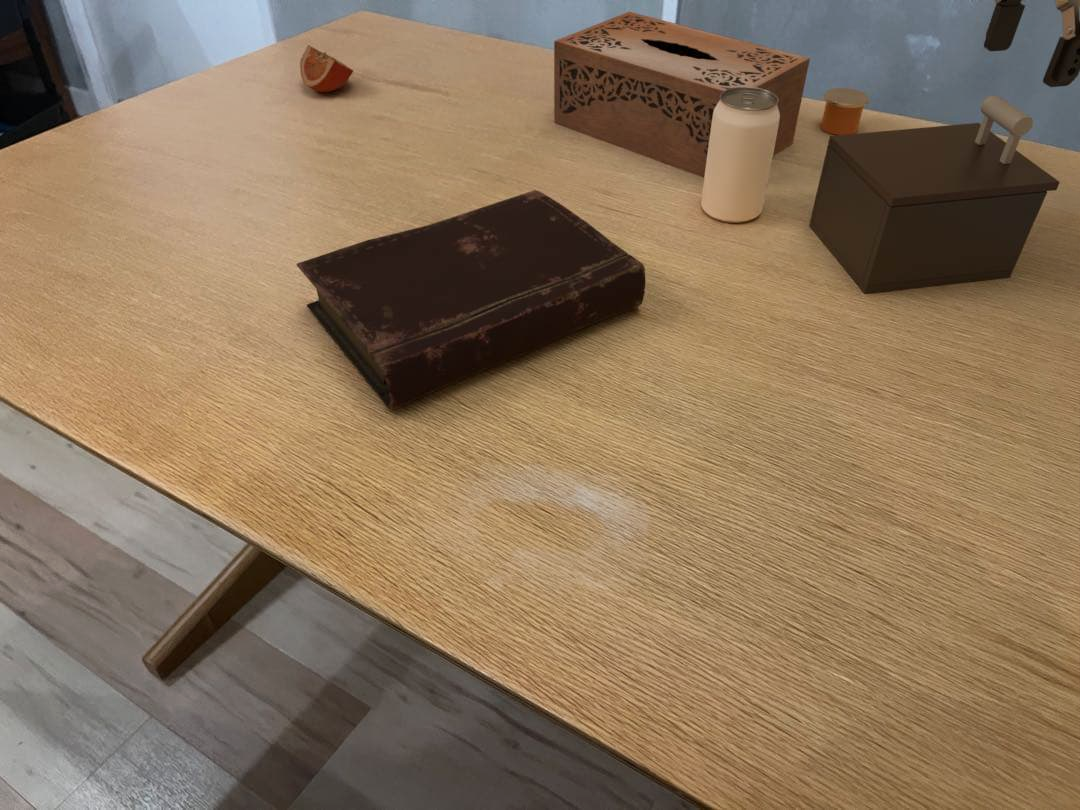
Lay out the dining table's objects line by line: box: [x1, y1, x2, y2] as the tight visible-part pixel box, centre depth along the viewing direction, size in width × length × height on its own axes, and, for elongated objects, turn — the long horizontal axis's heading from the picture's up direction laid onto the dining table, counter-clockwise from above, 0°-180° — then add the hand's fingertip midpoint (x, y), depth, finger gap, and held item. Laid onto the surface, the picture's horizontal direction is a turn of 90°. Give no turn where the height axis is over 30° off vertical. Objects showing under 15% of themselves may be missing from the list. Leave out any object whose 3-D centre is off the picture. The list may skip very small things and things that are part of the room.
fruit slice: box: [299, 44, 354, 93], centre depth 112 cm, size 8×7×5 cm
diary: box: [296, 189, 646, 411], centre depth 73 cm, size 19×25×5 cm
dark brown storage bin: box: [808, 144, 1048, 294], centre depth 78 cm, size 15×13×9 cm
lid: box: [827, 94, 1061, 207], centre depth 73 cm, size 15×13×5 cm
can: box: [700, 87, 780, 224], centre depth 83 cm, size 6×6×12 cm
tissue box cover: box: [553, 11, 811, 178], centre depth 98 cm, size 26×14×10 cm, turn 47°
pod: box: [820, 87, 870, 136], centre depth 101 cm, size 5×5×4 cm
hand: (1024, 66), depth 70 cm, fingers open, 8 cm apart
